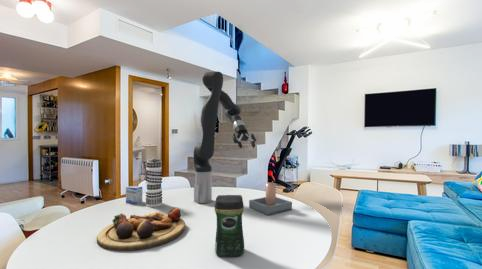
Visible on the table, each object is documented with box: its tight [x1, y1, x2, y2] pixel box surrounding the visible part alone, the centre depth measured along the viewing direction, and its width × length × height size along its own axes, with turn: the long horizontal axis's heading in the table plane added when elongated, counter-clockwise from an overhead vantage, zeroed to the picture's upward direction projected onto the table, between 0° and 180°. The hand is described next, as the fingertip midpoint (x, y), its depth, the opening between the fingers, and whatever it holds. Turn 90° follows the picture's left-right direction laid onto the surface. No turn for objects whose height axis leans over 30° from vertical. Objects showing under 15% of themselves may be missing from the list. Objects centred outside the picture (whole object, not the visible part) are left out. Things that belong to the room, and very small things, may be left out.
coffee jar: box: [214, 194, 245, 258], centre depth 80 cm, size 10×8×19 cm
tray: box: [248, 196, 293, 216], centre depth 126 cm, size 16×15×4 cm
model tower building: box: [144, 157, 164, 208], centre depth 134 cm, size 9×9×25 cm
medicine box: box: [125, 185, 143, 205], centre depth 138 cm, size 8×4×9 cm, turn 73°
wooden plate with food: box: [96, 207, 186, 252], centre depth 96 cm, size 32×32×8 cm
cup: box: [265, 182, 277, 206], centre depth 126 cm, size 5×5×12 cm
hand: (247, 147), depth 147 cm, fingers open, 8 cm apart
